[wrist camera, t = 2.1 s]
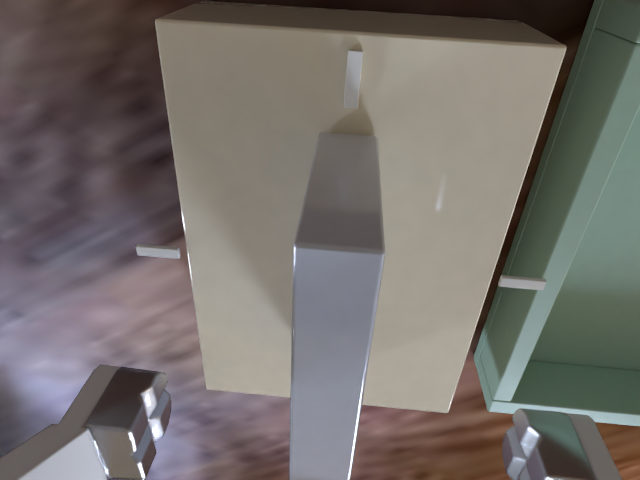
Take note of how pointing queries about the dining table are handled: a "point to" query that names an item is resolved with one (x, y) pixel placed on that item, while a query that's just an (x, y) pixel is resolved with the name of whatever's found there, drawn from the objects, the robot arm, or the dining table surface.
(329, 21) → the block
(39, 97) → the dining table surface
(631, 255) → the basin
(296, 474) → the spout
